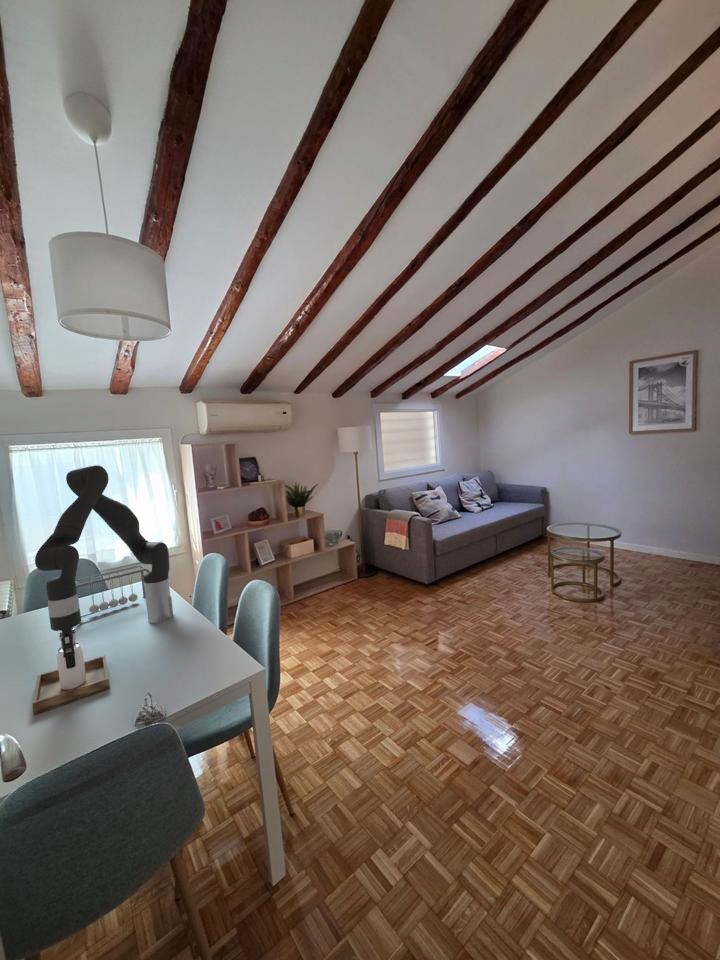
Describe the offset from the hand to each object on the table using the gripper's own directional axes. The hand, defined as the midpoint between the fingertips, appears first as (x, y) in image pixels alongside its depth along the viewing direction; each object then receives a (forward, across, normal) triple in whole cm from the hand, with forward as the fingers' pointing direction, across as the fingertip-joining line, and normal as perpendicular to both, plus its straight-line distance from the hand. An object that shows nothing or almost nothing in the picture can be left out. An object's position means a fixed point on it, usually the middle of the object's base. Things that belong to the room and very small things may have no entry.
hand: (71, 661), depth 123 cm
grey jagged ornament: (+9, -35, -15) cm, 39 cm away
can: (+8, 0, 0) cm, 8 cm away
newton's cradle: (+9, +63, -15) cm, 65 cm away
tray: (+8, 0, 0) cm, 8 cm away
